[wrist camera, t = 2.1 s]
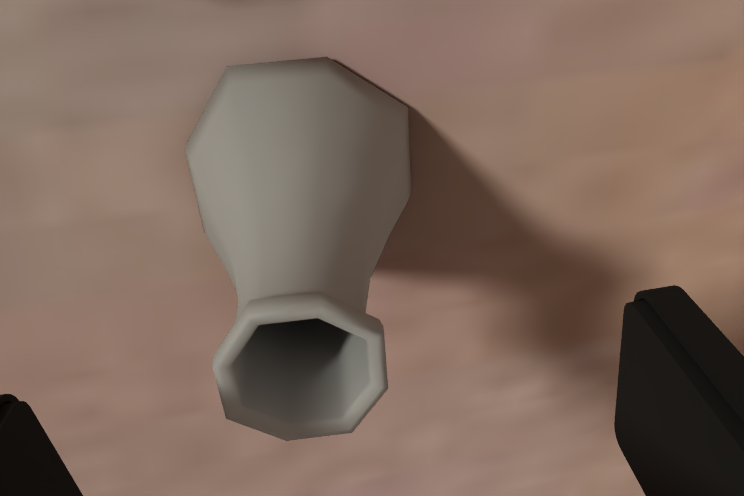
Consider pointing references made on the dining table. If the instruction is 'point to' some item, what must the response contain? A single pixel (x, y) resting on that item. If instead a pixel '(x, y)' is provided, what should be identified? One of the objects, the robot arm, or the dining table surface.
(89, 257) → the dining table surface
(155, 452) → the dining table surface
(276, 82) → the flask
